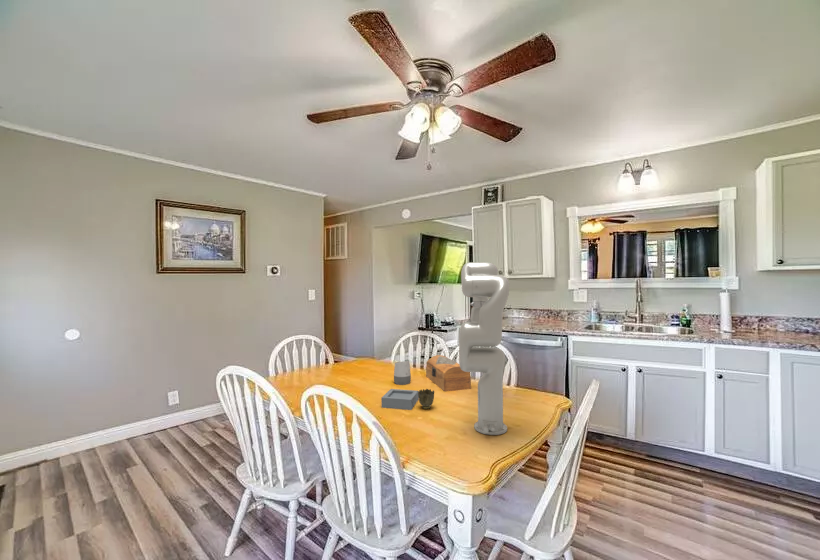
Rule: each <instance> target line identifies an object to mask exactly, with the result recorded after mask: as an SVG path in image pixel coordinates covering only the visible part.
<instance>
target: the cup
mask: <svg viewBox="0 0 820 560" xmlns="http://www.w3.org/2000/svg"><path fill="white" fill-rule="evenodd" d="M417 391H418V396H419V400H418V401H419V404H420V405H421V406H422V410H429V409H431V406H432V405H433V403H434V400H435V390H431V388H430V389H429V388H426V389H424V388H423V389H419V390H417Z"/></svg>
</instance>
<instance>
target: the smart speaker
mask: <svg viewBox="0 0 820 560" xmlns="http://www.w3.org/2000/svg"><path fill="white" fill-rule="evenodd" d="M411 380H412V375H411V365H410V360H403V361H399V362H394V370H393V383H394V385H398V386H407V385H409V384H410V383H411Z"/></svg>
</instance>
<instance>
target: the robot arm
mask: <svg viewBox="0 0 820 560" xmlns="http://www.w3.org/2000/svg"><path fill="white" fill-rule="evenodd" d="M460 273H461V274H460V278H461V291H462V295H464V296H465V297H466V298H472V302H469V304H470V306H471V310H470V319H468V320H466V321H464V322H463V323H462V324H461V325H460V328H459V336H458V350H459V351H458V354H459V355H458V357H459V358H458V361H459V363H458V364H459V365H460V368H461V370H463V371H465V372H470V373H482V375H481V376H480V378H479V380H478V383H477V421H476V422H475V423H474V426H473V428H474V430H475V431H477V432H478V433H480V434H484V435H490V436H499V435H500V436H501V435H502V434H505V433H506V432H507V431H508V425H506V424H505V423H504V399H503V398H504V391H503V389H504V386H503V385H504V381H503V379H504V369H505V362H506V356H505V353H504V351H503V350H501V349H500V348H497V346H499V345H500V344H501V342H502V338H503V337H502V336H503V315H504V314H503V313H504V310H505V309H504V308H505V307H506V304H507V301H508V299H509V295H510V281H509V279H508V278H507V277H506V276H503V275H501V274H499V272H498V267H497V266H496V265H495V264H494V263H493V262H488V261H487V262H486V261H482V262H481V261H478V262H477V261H476V262H475V261H474V262H471V261H470V262H466V263H465V264H463V266H462V268H461V272H460Z"/></svg>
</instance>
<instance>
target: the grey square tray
mask: <svg viewBox="0 0 820 560" xmlns="http://www.w3.org/2000/svg"><path fill="white" fill-rule="evenodd" d="M418 391H419V390H413V389H397V388H396V389H395V388H390V389H389V390H388V391H386V393H385V394H384V395H383V396H382V397H381V402H380V403H381V408H382V409H383V408H384V409H395V410H405V411H406V410H407V411H412V410H413V408H414V407H415V405H416V404H417V403H418V401H419V396H418Z"/></svg>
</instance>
